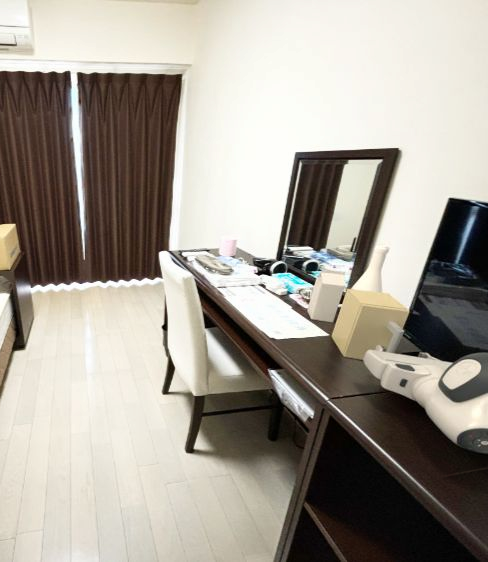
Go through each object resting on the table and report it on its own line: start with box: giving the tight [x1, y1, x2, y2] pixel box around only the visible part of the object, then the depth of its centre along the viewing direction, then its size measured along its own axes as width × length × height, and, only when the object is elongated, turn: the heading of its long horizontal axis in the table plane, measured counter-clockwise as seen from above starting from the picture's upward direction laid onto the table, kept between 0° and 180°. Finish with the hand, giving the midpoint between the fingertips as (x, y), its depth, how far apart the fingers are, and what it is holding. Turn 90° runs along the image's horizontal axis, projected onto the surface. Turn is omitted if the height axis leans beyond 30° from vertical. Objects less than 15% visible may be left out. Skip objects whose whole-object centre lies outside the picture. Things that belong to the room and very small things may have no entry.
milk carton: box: [307, 269, 346, 323], centre depth 113 cm, size 7×7×19 cm
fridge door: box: [342, 304, 410, 361], centre depth 87 cm, size 6×11×18 cm, turn 72°
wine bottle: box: [350, 244, 390, 293], centre depth 107 cm, size 10×10×30 cm
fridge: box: [331, 288, 408, 356], centre depth 94 cm, size 11×11×18 cm
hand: (400, 351), depth 81 cm, fingers open, 8 cm apart
